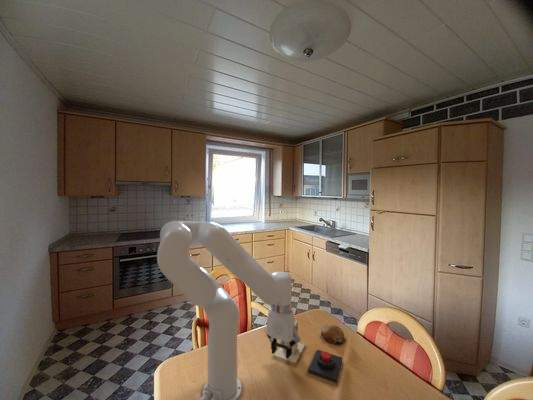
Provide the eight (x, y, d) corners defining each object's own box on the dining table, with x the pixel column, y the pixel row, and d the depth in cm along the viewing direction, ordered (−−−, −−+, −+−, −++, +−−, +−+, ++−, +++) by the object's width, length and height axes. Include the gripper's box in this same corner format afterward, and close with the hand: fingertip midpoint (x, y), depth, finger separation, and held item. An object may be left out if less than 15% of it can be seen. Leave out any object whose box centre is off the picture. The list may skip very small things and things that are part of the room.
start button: (329, 364, 83) (329, 359, 83) (319, 360, 85) (319, 356, 85) (331, 357, 87) (331, 353, 86) (322, 354, 88) (322, 350, 88)
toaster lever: (286, 351, 84) (286, 346, 84) (274, 347, 86) (273, 342, 86) (297, 328, 94) (297, 323, 94) (286, 324, 97) (285, 320, 96)
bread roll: (342, 343, 106) (340, 323, 109) (347, 347, 97) (345, 325, 100) (320, 342, 107) (319, 322, 110) (323, 345, 98) (322, 324, 101)
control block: (336, 385, 78) (336, 374, 78) (308, 375, 83) (308, 364, 83) (342, 362, 89) (342, 352, 89) (316, 354, 93) (316, 345, 93)
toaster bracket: (295, 366, 87) (295, 333, 87) (274, 358, 91) (274, 326, 91) (305, 347, 98) (305, 318, 97) (285, 341, 102) (285, 312, 102)
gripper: (256, 305, 86) (256, 352, 86) (299, 316, 78) (299, 368, 79) (265, 297, 93) (265, 341, 93) (306, 306, 85) (306, 354, 85)
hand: (281, 353), depth 86 cm, fingers closed on toaster lever, 5 cm apart
